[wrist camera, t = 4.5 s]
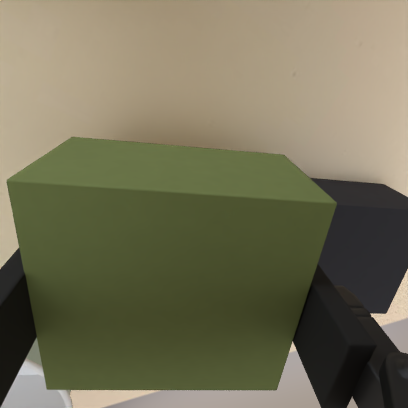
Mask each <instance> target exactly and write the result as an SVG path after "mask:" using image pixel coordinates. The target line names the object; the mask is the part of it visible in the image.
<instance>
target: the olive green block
mask: <svg viewBox="0 0 408 408" xmlns="http://www.w3.org/2000/svg"><path fill="white" fill-rule="evenodd" d="M7 186H8V191H9V196H10V202H11V207H12V212H13V217H14V222H15V227H16V233H17V238H18V243H19V248H20V253H21V259H22V264H23V269H24V273H25V275H26V281H27V286H28V291H29V297H30V302H31V308H32V313H33V318H34V324H35V329H36V334H37V342H38V347H39V352H40V357H41V362H42V368H43V373H44V378H45V383H46V388H47V390H277V387H278V384H279V381H280V378H281V375H282V372H283V369H284V366H285V363H286V360H287V357H288V354H289V350H290V347H291V344H292V341H293V338H294V335H295V332H296V329H297V326H298V323H299V320H300V316H301V313H302V310H303V307H304V304H305V301H306V298H307V295H308V292H309V289H310V286H311V283H312V279H313V276H314V273H315V270H316V267H317V264H318V261H319V258H320V255H321V252H322V249H323V245H324V242H325V239H326V236H327V233H328V230H329V227H330V224H331V221H332V218H333V215H334V212H335V208H336V205H337V202H335V201H334V200H333V199H332V198H331V197H330V196H329V195H328V194H327V193H325V192H324V191H323V190H322V189H321V188H320V187H319V186H318V185H317V184H316V183H314V182H313V181H312V180H311V179H310V178H309V177H308V176H307V175H306V174H304V173H303V172H302V171H301V170H300V169H299V168H298V167H297V166H296V165H295V164H293V163H292V162H291V161H290V160H289V159H288V158H287V157H286V156H285V155H280V154H268V153H257V152H245V151H233V150H221V149H210V148H198V147H186V146H174V145H163V144H151V143H139V142H127V141H116V140H104V139H92V138H80V137H71V138H70V139H68V140H67V141H65V142H64V143H62V144H61V145H59V146H58V147H56V148H55V149H53V150H52V151H50V152H49V153H47V154H45V155H44V156H42V157H41V158H39V159H38V160H36V161H35V162H33V163H32V164H30V165H29V166H27V167H26V168H24V169H23V170H21V171H20V172H18V173H17V174H15V175H14V176H12V177H11V178H9V179H8V180H7Z"/></svg>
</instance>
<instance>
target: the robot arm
mask: <svg viewBox="0 0 408 408" xmlns="http://www.w3.org/2000/svg"><path fill="white" fill-rule="evenodd" d="M36 338H37V334H36V329H35V324H34V318H33V313H32V308H31V302H30V297H29V291H28V286H27V281H26V275H25V273H24V269H23V264H22V259H21V253H20V248H18V250H17V251H16V252H15V253H14V254H13V255H12V256H11V258H10V259H9V260H8V261H7V262H6V263H5V265H4V266H3V267H2V268H1V269H0V407H1V406H2V404H3V402H4V400H5V398H6V396H7V394H8V392H9V390H10V388H11V386H12V384H13V382H14V380H15V378H16V376H17V375H18V373H19V371H20V369H21V367H22V365H23V363H24V361H25V359H26V357H27V355H28V353H29V351H30V349H31V347H32V346H33V344H34V342H35V340H36ZM293 342H294V345H295V347H296V350H297V352H298V354H299V357H300V359H301V361H302V364H303V366H304V368H305V371H306V373H307V375H308V378H309V380H310V382H311V385H312V387H313V389H314V392H315V394H316V396H317V399H318V401H319V403H320V406H321V408H347V406H348V404H349V402H350V400H351V398H352V397H353V399H354V401H355V402H356V404H357V406H358V408H408V354H406V353H402V352H400V351H399V350H398V349H397V347H396V346H395V345H394V344H393V342H392V341H391V340H390V339H389V337H388V336H387V335H386V333H385V332H384V331H383V330H382V328H381V327H380V326H379V325H378V323H377V322H376V321H375V319H374V318H373V317H371V314H370V313H369V312H368V311H367V309H366V308H364V305H363V304H362V303H361V302H360V300H359V299H358V298H357V297H356V295H355V294H353V293H352V292H351V291H349V290H348V289H347V288H345V287H344V286H338V285H333V284H332V282H331V281H330V279H329V278H328V277H327V275H326V274H325V273H324V271H323V270H322V268H321V267H320V266H319V264H317V267H316V270H315V273H314V276H313V279H312V283H311V286H310V289H309V292H308V295H307V298H306V301H305V304H304V307H303V310H302V313H301V316H300V320H299V323H298V326H297V329H296V332H295V335H294V338H293Z"/></svg>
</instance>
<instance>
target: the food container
mask: <svg viewBox="0 0 408 408" xmlns="http://www.w3.org/2000/svg"><path fill="white" fill-rule="evenodd" d="M70 392H71V390H47V388H46V383H45V378H44V373H43V368H42V362H41V357H40V352H39V347H38V342H37V338H36V340H35V342H34V344H33V346H32V347H31V349H30V351H29V353H28V355H27V357H26V359H25V361H24V363H23V365H22V367H21V369H20V371H19V373H18V375H17V376H16V378H15V380H14V382H13V384H12V386H11V388H10V390H9V392H8V394H7V396H6V398H5V400H4V402H3V404H2V406H1V407H0V408H73V405H72V400H71V397H70Z"/></svg>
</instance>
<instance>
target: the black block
mask: <svg viewBox="0 0 408 408" xmlns="http://www.w3.org/2000/svg"><path fill="white" fill-rule="evenodd" d="M310 179H311V180H312V181H313V182H314V183H316V184H317V185H318V186H319V187H320V188H321V189H322V190H323V191H324V192H325V193H327V194H328V195H329V196H330V197H331V198H332V199H333V200H334V201H335V202H337V205H336V208H335V212H334V215H333V218H332V221H331V224H330V227H329V230H328V233H327V236H326V239H325V242H324V245H323V249H322V252H321V255H320V258H319V261H318V264H319V266H320V267H321V268H322V270H323V271H324V273H325V274H326V275H327V277H328V278H329V279H330V281H331V282H332V284H333V285H338V286H344V287H345V288H347V289H348V290H349V291H351V292H352V293H353V294H355V295H356V297H357V298H358V299H359V300H360V302H361V303H362V304H363V305H364V308H366V309H367V311H368V312H369V313H383V314H386V313H387V311H388V309H389V307H390V305H391V302H392V300H393V298H394V296H395V294H396V292H397V290H398V288H399V286H400V284H401V281H402V279H403V277H404V275H405V273H406V271H407V269H408V197H406V196H405V195H403V194H401V193H399V192H397V191H395V190H393V189H392V188H390V187H388V186H386V185H384V184H374V183H362V182H350V181H338V180H326V179H314V178H310Z"/></svg>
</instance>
